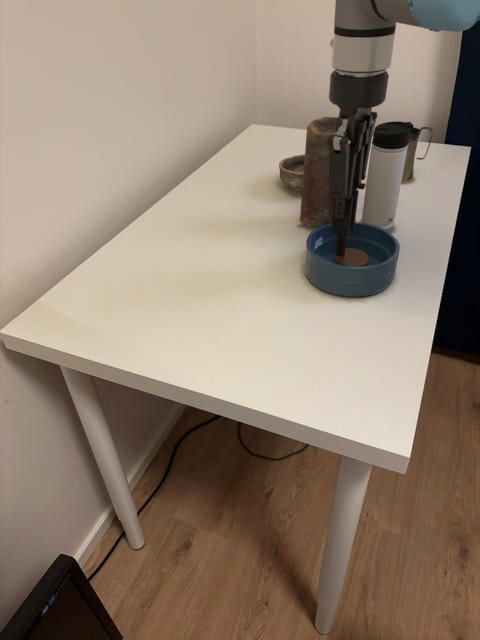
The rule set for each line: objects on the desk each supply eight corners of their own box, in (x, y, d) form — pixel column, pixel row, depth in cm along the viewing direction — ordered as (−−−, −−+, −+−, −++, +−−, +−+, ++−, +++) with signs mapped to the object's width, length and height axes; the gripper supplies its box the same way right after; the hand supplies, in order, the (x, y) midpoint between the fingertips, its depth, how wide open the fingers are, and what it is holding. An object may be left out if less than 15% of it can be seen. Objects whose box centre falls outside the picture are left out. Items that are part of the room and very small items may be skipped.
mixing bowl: (404, 263, 86) (411, 233, 82) (376, 309, 76) (381, 278, 73) (325, 242, 93) (328, 214, 89) (289, 283, 83) (290, 253, 79)
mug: (385, 180, 113) (393, 128, 106) (390, 172, 117) (398, 120, 109) (420, 186, 110) (431, 132, 103) (424, 176, 114) (435, 124, 106)
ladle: (371, 268, 83) (387, 166, 71) (359, 284, 79) (374, 180, 68) (340, 260, 85) (350, 160, 74) (327, 275, 81) (336, 173, 70)
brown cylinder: (344, 222, 99) (355, 120, 86) (323, 236, 95) (332, 132, 82) (313, 211, 103) (319, 113, 90) (292, 224, 99) (296, 123, 86)
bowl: (266, 193, 110) (266, 149, 104) (303, 166, 121) (304, 126, 115) (320, 207, 104) (323, 161, 98) (354, 177, 115) (359, 135, 109)
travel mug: (397, 234, 94) (418, 129, 81) (363, 235, 94) (378, 130, 82) (390, 219, 99) (408, 117, 86) (358, 219, 99) (371, 118, 86)
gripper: (352, 56, 70) (338, 207, 84) (310, 80, 60) (302, 245, 75) (404, 60, 66) (380, 216, 81) (368, 86, 57) (348, 257, 72)
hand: (342, 230), depth 78 cm, fingers closed on ladle, 2 cm apart
